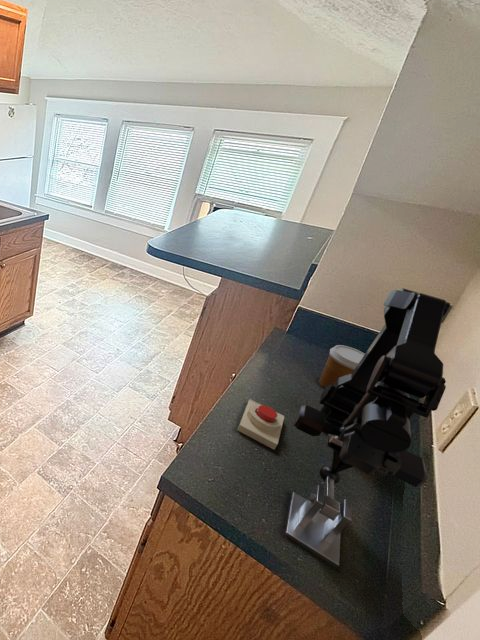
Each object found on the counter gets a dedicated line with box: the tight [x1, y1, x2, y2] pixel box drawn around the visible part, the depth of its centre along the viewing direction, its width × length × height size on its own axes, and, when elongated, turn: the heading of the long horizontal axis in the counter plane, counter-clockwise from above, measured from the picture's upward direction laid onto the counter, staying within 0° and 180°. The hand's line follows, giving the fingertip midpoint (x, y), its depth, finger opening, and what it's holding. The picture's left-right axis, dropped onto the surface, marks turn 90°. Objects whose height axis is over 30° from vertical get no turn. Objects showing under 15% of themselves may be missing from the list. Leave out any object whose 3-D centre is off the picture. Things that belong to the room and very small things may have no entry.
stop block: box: [237, 398, 285, 451], centre depth 94 cm, size 12×8×4 cm, turn 139°
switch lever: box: [318, 465, 341, 521], centre depth 74 cm, size 13×3×3 cm, turn 140°
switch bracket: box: [284, 484, 353, 569], centre depth 71 cm, size 11×8×9 cm
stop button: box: [256, 404, 278, 423], centre depth 93 cm, size 4×4×2 cm
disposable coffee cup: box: [318, 344, 365, 389], centre depth 109 cm, size 10×10×12 cm
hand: (333, 470), depth 76 cm, fingers closed
